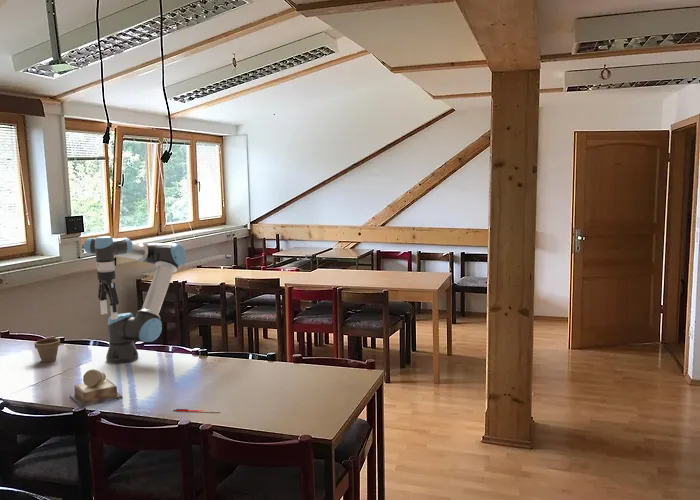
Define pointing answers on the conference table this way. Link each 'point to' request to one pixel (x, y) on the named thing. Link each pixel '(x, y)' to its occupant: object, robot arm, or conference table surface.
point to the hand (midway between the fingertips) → (109, 316)
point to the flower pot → (47, 349)
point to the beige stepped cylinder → (93, 378)
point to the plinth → (95, 393)
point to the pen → (185, 410)
